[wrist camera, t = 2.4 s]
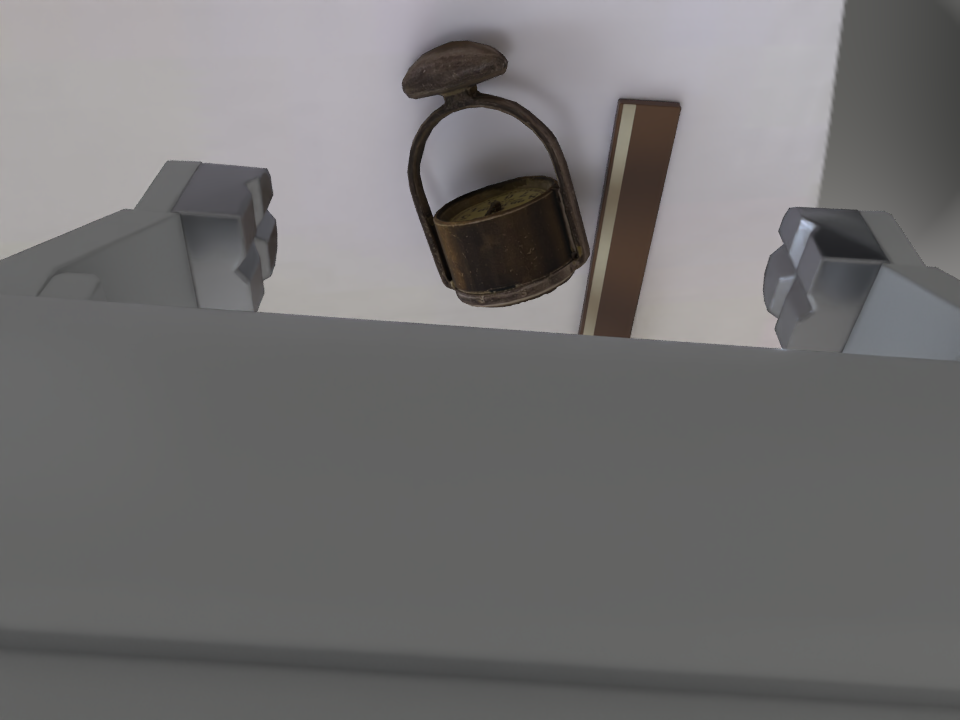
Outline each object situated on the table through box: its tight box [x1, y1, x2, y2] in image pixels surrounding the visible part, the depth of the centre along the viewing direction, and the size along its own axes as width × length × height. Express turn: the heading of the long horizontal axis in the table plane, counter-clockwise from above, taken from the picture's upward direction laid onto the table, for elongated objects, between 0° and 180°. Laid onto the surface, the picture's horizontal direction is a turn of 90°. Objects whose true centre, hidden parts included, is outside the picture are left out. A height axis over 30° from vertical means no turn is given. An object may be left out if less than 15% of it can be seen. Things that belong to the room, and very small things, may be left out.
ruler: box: [578, 99, 681, 338], centre depth 48 cm, size 24×3×1 cm, turn 177°
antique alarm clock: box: [402, 41, 590, 307], centre depth 40 cm, size 7×13×10 cm
